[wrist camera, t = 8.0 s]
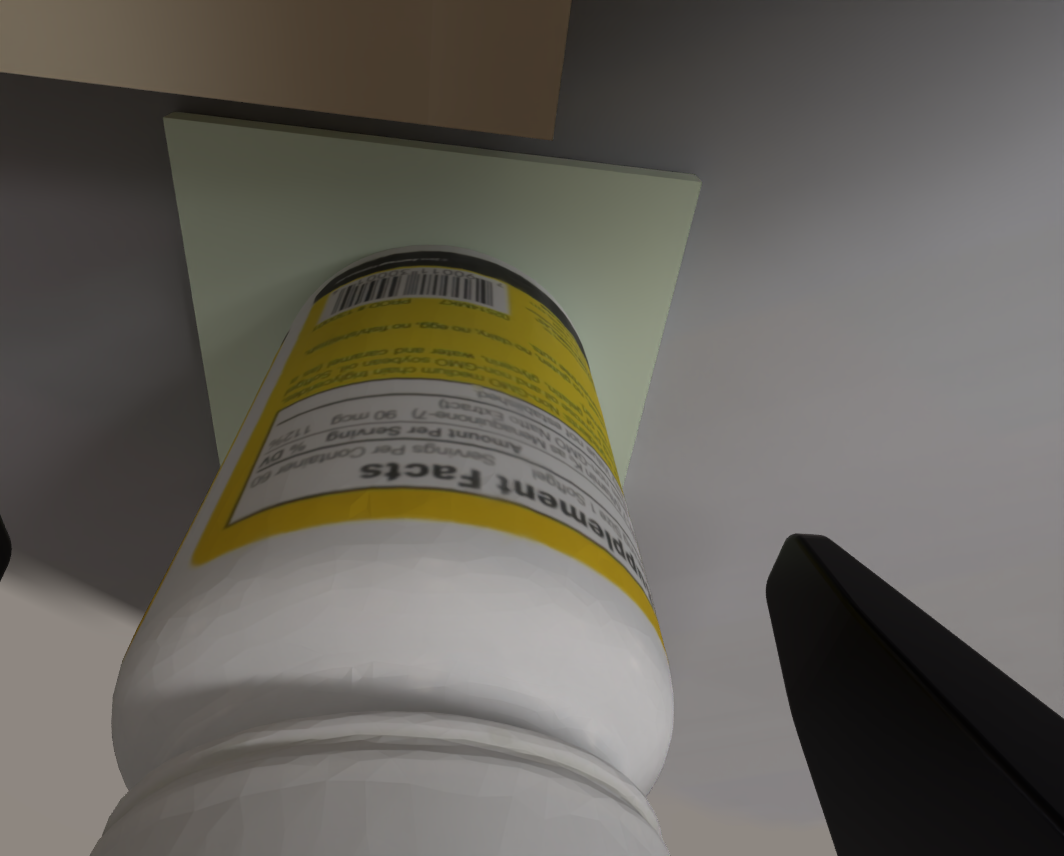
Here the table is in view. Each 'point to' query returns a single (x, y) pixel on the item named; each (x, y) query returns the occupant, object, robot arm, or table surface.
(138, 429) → the table surface
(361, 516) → the supplement bottle
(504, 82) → the wooden box
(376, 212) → the sage mat
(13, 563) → the table surface
